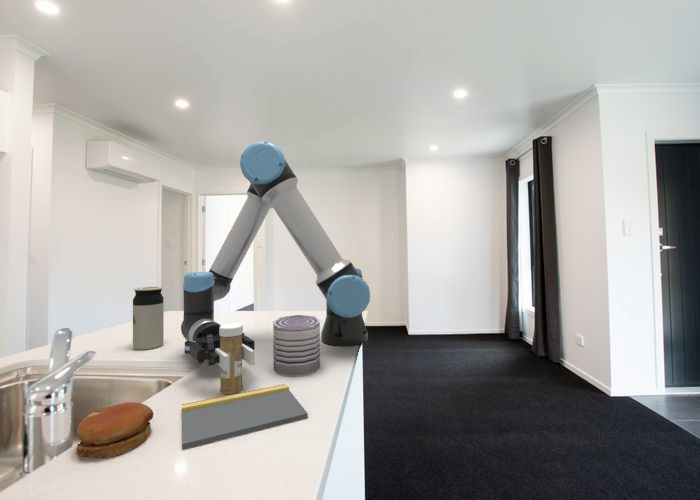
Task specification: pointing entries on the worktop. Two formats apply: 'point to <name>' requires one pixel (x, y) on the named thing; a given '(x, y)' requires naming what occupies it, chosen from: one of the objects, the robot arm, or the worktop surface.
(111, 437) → the burger
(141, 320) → the travel mug
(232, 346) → the sprinkles bottle
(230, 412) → the mat
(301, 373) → the can
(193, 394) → the worktop surface
